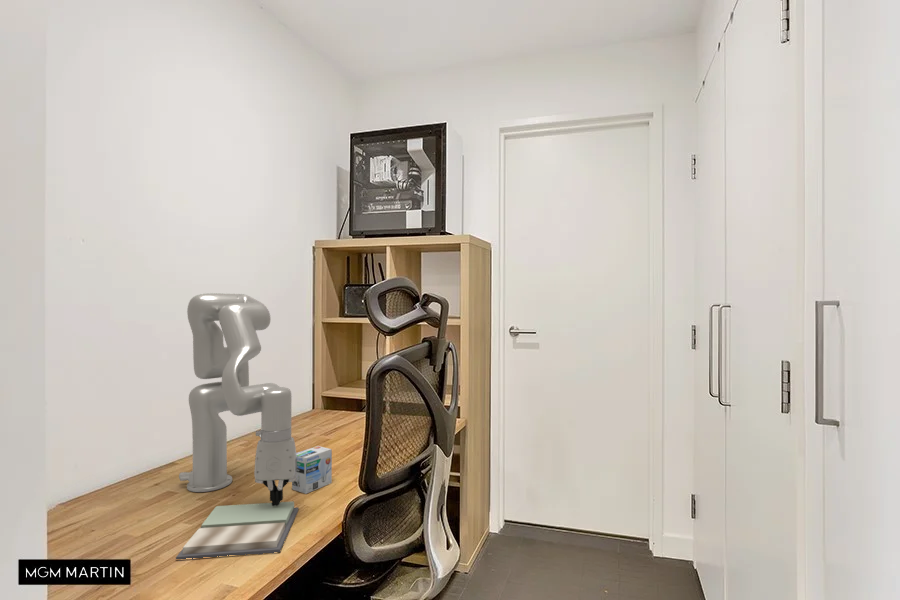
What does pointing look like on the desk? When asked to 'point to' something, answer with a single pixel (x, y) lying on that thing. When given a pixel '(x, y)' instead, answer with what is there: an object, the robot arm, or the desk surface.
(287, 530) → the underlay mat
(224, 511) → the sage plank
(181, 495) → the desk surface
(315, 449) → the light bulb box
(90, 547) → the desk surface
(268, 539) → the oak plank
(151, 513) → the desk surface
